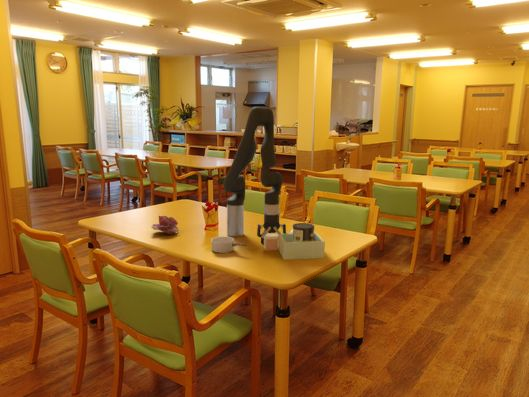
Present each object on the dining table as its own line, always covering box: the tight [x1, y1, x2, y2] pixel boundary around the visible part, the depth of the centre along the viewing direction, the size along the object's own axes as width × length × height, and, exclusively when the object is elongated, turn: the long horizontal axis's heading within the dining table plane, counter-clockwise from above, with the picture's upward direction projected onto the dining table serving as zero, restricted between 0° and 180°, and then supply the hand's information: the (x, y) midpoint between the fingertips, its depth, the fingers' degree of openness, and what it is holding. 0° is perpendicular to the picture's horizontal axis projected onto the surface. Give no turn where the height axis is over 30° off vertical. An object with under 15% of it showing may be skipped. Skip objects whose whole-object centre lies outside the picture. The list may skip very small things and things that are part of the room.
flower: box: [151, 215, 179, 235], centre depth 231 cm, size 15×15×10 cm
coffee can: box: [292, 222, 315, 242], centre depth 197 cm, size 10×10×14 cm
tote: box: [277, 232, 326, 260], centre depth 198 cm, size 19×15×8 cm
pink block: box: [263, 233, 279, 252], centre depth 206 cm, size 6×6×7 cm
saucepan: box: [210, 235, 248, 254], centre depth 200 cm, size 12×20×6 cm, turn 56°
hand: (271, 244), depth 206 cm, fingers open, 8 cm apart
